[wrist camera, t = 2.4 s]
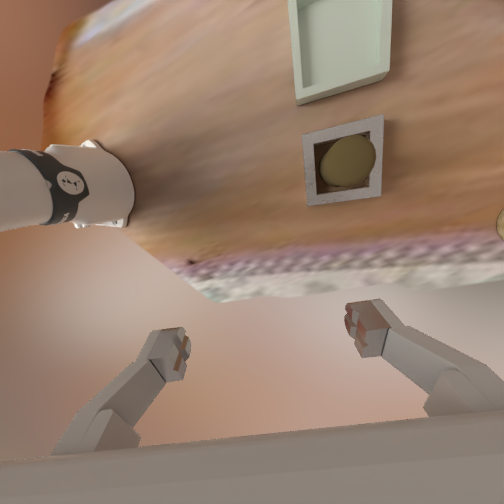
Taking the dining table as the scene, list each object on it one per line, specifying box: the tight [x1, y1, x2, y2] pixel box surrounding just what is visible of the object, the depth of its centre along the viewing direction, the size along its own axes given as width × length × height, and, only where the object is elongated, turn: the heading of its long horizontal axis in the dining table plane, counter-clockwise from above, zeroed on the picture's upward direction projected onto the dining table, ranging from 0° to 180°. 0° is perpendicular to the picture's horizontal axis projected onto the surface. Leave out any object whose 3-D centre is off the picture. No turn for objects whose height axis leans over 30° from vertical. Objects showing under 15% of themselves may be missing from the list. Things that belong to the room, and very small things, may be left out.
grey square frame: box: [302, 114, 384, 206], centre depth 29 cm, size 10×10×2 cm
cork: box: [319, 135, 376, 187], centre depth 25 cm, size 6×6×11 cm
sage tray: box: [288, 0, 392, 106], centre depth 24 cm, size 11×11×2 cm
